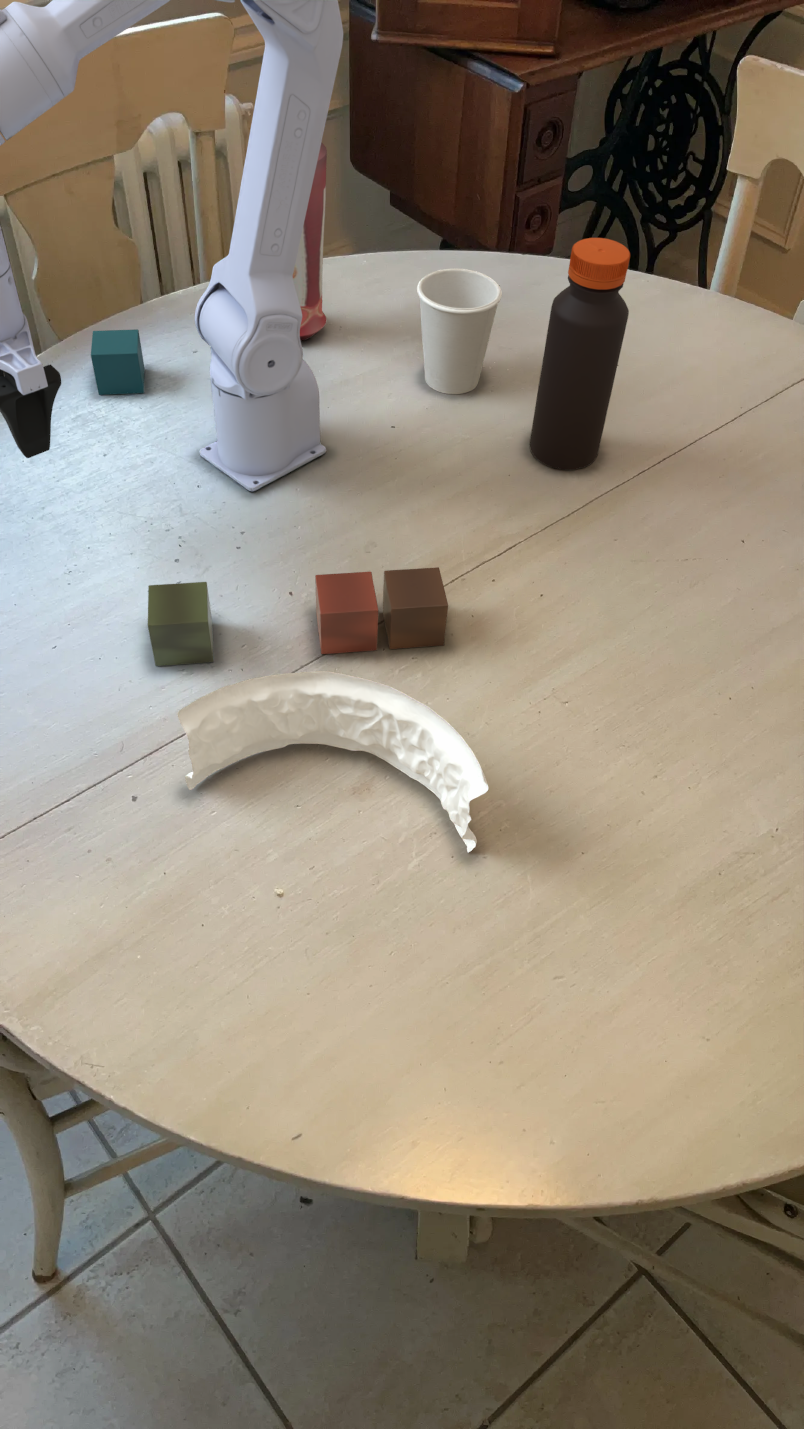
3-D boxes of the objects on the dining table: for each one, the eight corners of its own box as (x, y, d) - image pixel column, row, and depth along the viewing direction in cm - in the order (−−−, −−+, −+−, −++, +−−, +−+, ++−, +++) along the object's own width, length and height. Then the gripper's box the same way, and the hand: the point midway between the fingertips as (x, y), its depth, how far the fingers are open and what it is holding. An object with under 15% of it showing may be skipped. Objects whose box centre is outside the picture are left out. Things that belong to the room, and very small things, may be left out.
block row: (435, 607, 88) (439, 566, 85) (444, 645, 85) (448, 605, 82) (156, 626, 85) (148, 584, 82) (155, 666, 82) (147, 625, 79)
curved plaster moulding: (481, 856, 72) (490, 776, 66) (186, 884, 70) (168, 804, 64) (454, 735, 80) (460, 655, 74) (189, 758, 78) (173, 676, 72)
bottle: (519, 460, 102) (550, 259, 87) (540, 424, 106) (573, 225, 91) (587, 479, 100) (631, 277, 85) (605, 441, 105) (650, 242, 89)
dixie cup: (449, 348, 114) (456, 259, 107) (507, 380, 111) (519, 290, 103) (395, 377, 110) (399, 286, 103) (454, 411, 107) (462, 319, 99)
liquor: (342, 330, 116) (342, 43, 95) (295, 355, 112) (284, 62, 91) (295, 306, 119) (285, 22, 98) (247, 329, 115) (226, 39, 94)
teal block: (144, 368, 109) (138, 328, 106) (144, 393, 107) (137, 352, 103) (100, 370, 109) (92, 330, 105) (98, 395, 106) (90, 354, 103)
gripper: (-126, 243, 77) (-70, 404, 88) (-41, 327, 70) (9, 492, 81) (-35, 218, 80) (9, 376, 91) (55, 297, 73) (92, 459, 84)
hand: (14, 429), depth 86 cm, fingers open, 7 cm apart
